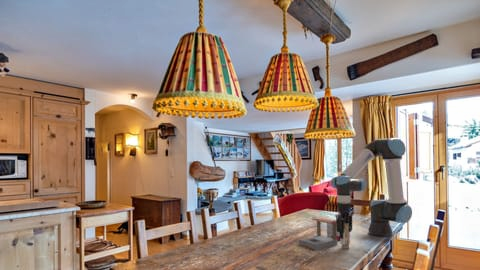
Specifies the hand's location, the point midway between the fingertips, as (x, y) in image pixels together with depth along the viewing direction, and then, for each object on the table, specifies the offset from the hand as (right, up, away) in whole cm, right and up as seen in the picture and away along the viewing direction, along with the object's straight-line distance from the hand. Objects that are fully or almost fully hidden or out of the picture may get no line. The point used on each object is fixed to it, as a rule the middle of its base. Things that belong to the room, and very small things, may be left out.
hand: (345, 243), depth 176 cm
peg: (0, -3, 0) cm, 3 cm away
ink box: (+2, -5, +22) cm, 22 cm away
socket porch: (-14, -3, +7) cm, 16 cm away
